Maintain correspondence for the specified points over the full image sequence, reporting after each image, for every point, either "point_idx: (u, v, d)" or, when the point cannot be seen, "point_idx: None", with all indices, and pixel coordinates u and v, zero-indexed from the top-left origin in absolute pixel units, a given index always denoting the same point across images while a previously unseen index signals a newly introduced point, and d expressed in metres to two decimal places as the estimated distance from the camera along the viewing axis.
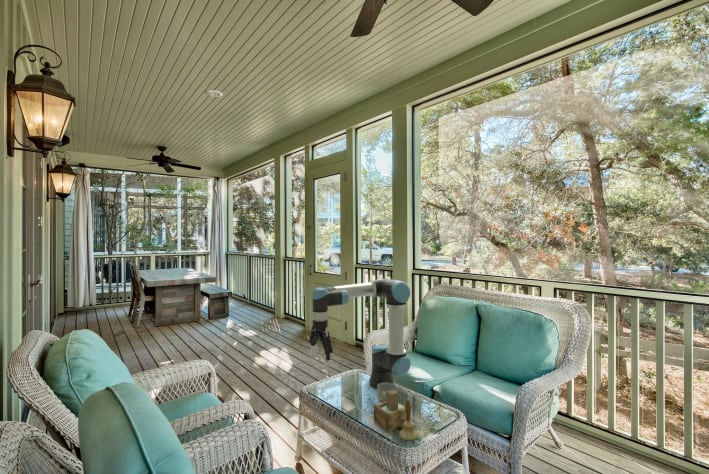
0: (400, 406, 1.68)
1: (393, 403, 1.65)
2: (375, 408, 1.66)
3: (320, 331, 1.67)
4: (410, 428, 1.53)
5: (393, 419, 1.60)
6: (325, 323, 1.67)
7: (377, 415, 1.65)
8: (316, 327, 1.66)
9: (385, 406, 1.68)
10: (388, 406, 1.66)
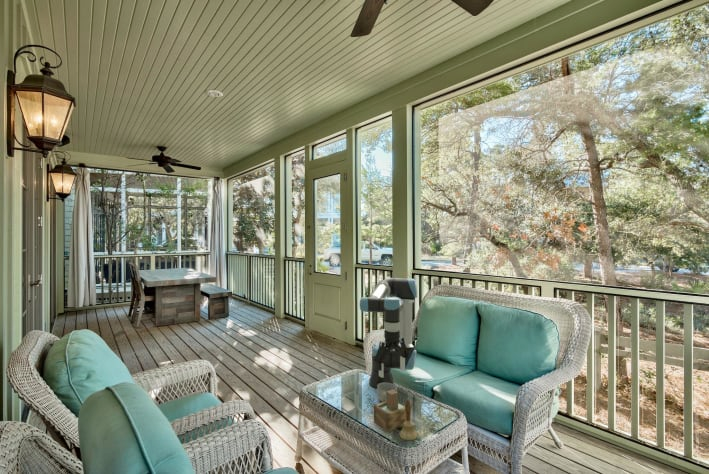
0: (400, 406, 1.68)
1: (393, 403, 1.65)
2: (375, 408, 1.66)
3: None
4: (410, 428, 1.53)
5: (393, 419, 1.60)
6: (387, 334, 1.63)
7: (377, 415, 1.65)
8: None
9: (385, 406, 1.68)
10: (388, 406, 1.66)
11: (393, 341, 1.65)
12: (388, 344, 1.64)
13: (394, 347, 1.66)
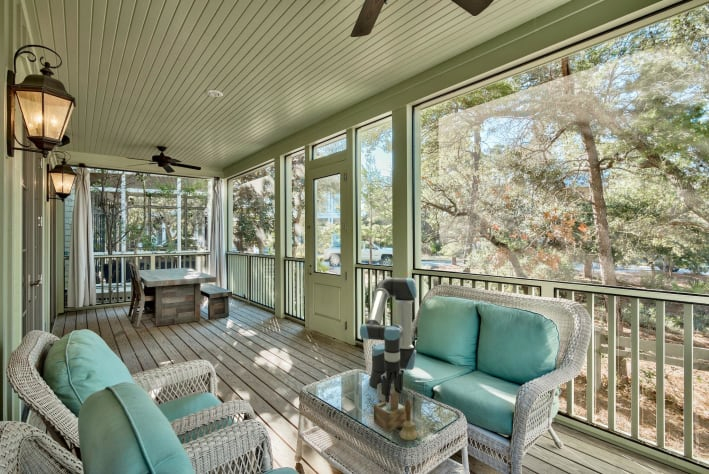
0: (400, 406, 1.68)
1: (393, 403, 1.65)
2: (375, 408, 1.66)
3: None
4: (410, 428, 1.53)
5: (393, 419, 1.60)
6: (387, 364, 1.64)
7: (377, 415, 1.65)
8: None
9: (385, 406, 1.68)
10: None
11: (393, 371, 1.66)
12: (388, 374, 1.64)
13: (394, 376, 1.66)
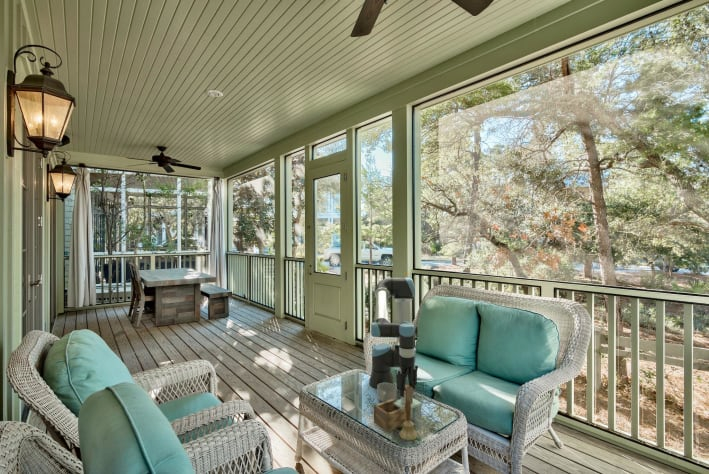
0: (414, 400, 1.74)
1: (408, 397, 1.70)
2: (375, 408, 1.66)
3: None
4: (410, 428, 1.53)
5: (393, 419, 1.60)
6: (402, 360, 1.69)
7: (377, 415, 1.65)
8: None
9: (399, 400, 1.74)
10: None
11: (408, 366, 1.71)
12: (403, 369, 1.69)
13: (409, 372, 1.71)
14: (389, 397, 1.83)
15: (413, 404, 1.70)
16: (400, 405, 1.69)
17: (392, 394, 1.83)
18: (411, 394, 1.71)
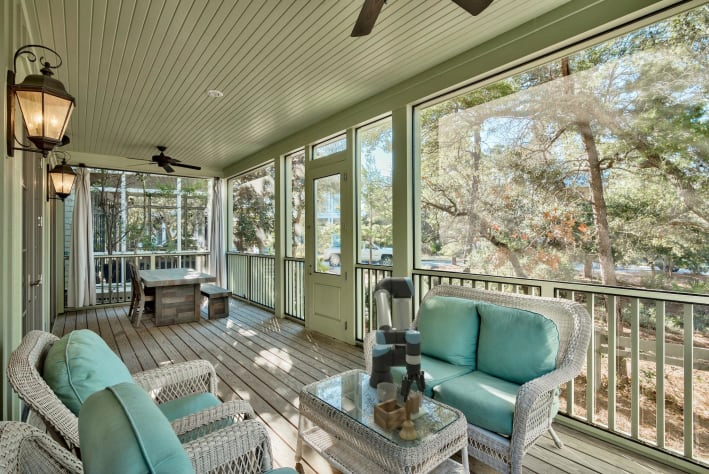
0: (420, 409, 1.76)
1: (415, 406, 1.72)
2: (375, 408, 1.66)
3: None
4: (410, 428, 1.53)
5: (393, 419, 1.60)
6: (409, 366, 1.71)
7: (377, 415, 1.65)
8: None
9: None
10: None
11: (414, 373, 1.73)
12: (410, 376, 1.72)
13: (415, 378, 1.74)
14: (389, 397, 1.83)
15: (420, 413, 1.73)
16: None
17: (392, 394, 1.83)
18: (418, 403, 1.74)
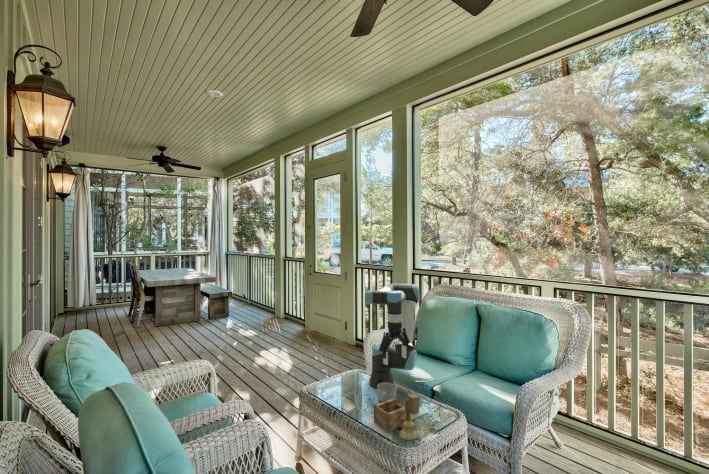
0: (421, 409, 1.76)
1: (415, 406, 1.72)
2: (375, 408, 1.66)
3: None
4: (410, 428, 1.54)
5: (393, 419, 1.60)
6: (391, 325, 1.76)
7: (377, 415, 1.65)
8: None
9: None
10: None
11: (396, 331, 1.78)
12: (391, 334, 1.77)
13: (397, 337, 1.79)
14: (389, 397, 1.83)
15: (419, 413, 1.72)
16: None
17: (392, 394, 1.83)
18: (418, 403, 1.73)
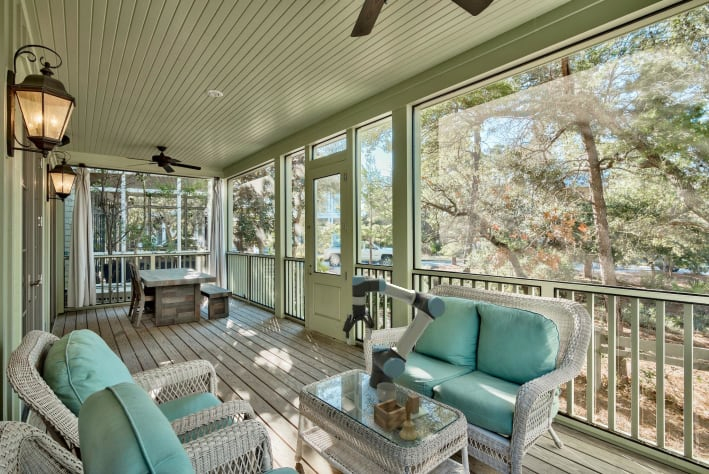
0: (421, 410, 1.76)
1: (414, 406, 1.72)
2: (375, 408, 1.66)
3: None
4: (410, 428, 1.54)
5: (393, 419, 1.60)
6: (354, 307, 1.86)
7: (377, 415, 1.65)
8: None
9: None
10: None
11: (360, 313, 1.88)
12: (355, 316, 1.87)
13: (361, 319, 1.89)
14: (389, 397, 1.83)
15: (419, 413, 1.72)
16: None
17: (392, 394, 1.83)
18: (417, 403, 1.73)
